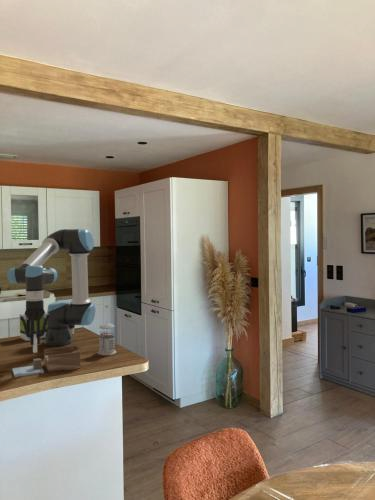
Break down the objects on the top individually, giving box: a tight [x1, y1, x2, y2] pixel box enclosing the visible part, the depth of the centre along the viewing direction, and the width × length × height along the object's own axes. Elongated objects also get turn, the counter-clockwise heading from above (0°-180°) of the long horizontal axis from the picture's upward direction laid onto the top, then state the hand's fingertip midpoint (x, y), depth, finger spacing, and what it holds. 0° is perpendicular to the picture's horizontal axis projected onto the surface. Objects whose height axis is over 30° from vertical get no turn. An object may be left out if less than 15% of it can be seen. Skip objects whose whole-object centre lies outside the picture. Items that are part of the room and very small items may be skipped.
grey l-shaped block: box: [11, 357, 45, 378], centre depth 184 cm, size 10×12×6 cm
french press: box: [97, 304, 117, 356], centre depth 215 cm, size 10×12×25 cm
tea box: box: [19, 311, 48, 342], centre depth 247 cm, size 15×10×15 cm
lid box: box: [43, 345, 81, 373], centre depth 192 cm, size 12×14×8 cm
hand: (35, 351), depth 186 cm, fingers closed
